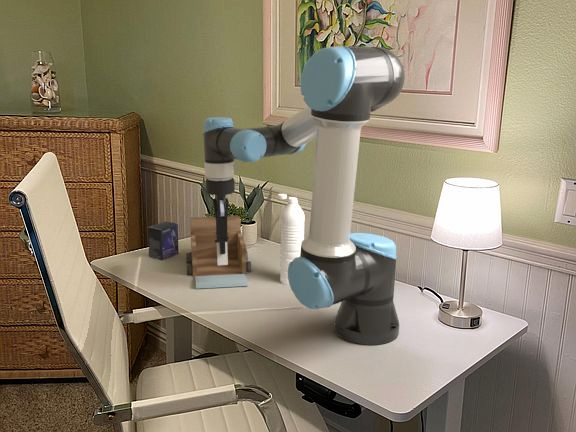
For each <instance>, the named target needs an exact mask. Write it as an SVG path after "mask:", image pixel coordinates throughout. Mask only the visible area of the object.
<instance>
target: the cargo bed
mask: <svg viewBox="0 0 576 432" xmlns="http://www.w3.org/2000/svg"><path fill="white" fill-rule="evenodd" d="M241 220H242V219H241V216H240V215H232V216H229V215H228V217H227V236H229V239H228V241H227V252H228V265H218V264H217V243H215V240H217V238H216V237H217V235H216V217H215V216H202V217H201V216H200V217H190V218H189V222H190V247H191V248H190V250H191V252H186V253H185V255H186V257H185V259H186V275H187V276H192V277H193V278H194V276H212V275H231V274H246V275H247V273H252V262H251V261H249V258H248V257H249V256H248V250H247V246H246V243H245V240H244V237H243V234H242V228H241V227H242V225H241V224H242V223H241Z"/></svg>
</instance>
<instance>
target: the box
mask: <svg viewBox="0 0 576 432" xmlns="http://www.w3.org/2000/svg"><path fill="white" fill-rule="evenodd" d="M147 237H148V257H149V258H152V259H155V260H160V261H164V260H166V259H168V258H171V257H174V256H176V255H178V254H179V249H180V248H179V247H180V245H179V224H178V223H175V222H171V221H163V222H160V223H156V224H153V225H151V226H147Z"/></svg>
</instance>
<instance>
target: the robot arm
mask: <svg viewBox="0 0 576 432" xmlns="http://www.w3.org/2000/svg"><path fill="white" fill-rule="evenodd" d="M405 74H406V73H405V69H404V65H403V63H402V61H401V60H400V58H399V57H398V55H397V54H395V53H394V52H393V51H391V50H389V49H387V48H385V47H381V46H344V45H340V46H339V45H335V46H330V47H329V46H328V47H322V48H320V49H318V50H317V51H315V52H314V53H313V54H312V55H311V56H310V57H308V59H307V61H306V63H305V65H304V66H303V69H302V72H301V77H300V92H301V95H302V96H304V97H303V101H304V103H305V104H306V105H307V106H305V107H304V108H302V109H301V110H299V111H298V112H297V113H295V114H293V115H292V116H290V117H289V118H287V119H286V120H284V121H282V122H281V123H279V124H277V125H270V126H269V125H268V126H259V127H258V126H257V127H248V128H238V127H237V128H236V127H235V126H234V122H233V119H232V118H231V117H226V116H225V117H224V116H223V117H222V116H221V117H220V116H215V117H208V118H206V119H204V121H203V132H202V135H203V155H204V177H205V178H206V179H205V180H204V181H205V192H206V194H208V195H210V196H215V198H212V206H213V214H214V217H216V235H217V237H216V238H217V240H215V243H217V264H218V265H228V252H227V241H228V239H229V236H227V217H228V216H229V207H230V205H229V200H228V199H229V198H228V197H226V196H227V195H231V194H233V193H235V189H236V188H235V185H236V184H235V178H234V176H235V170H234V169H236V168H237V164H235V163H234V161H235V160H237V161H239V162H244V163H247V162H248V163H249V162H250V163H255V162H258V161H259V160H260V159H263V158H268V157H275V156H276V157H277V156H284V155H285V156H286V155H293V154H297V153H300V152H302V151H303V150H304V149H305V147H306V146H307V144H308V143H310V142H311V141H313V140H315V139H316V143H315V144H316V145H315V153H314V155H315V156H314V168H313V182H312V195H311V207H310V219H309V230H308V231H309V232H308V236H306V237H304V240H303V241H302V242H301V253H300V257H296V258H295V259H294V260H293V261H292V262H290V264H289V267H288V281H289V284H290V285H289V287H290V290H291V292H292V293H293V295H294V297H295V298H296V299H297V301H298V302H299V303H301V305H303V306H304V307H306V308H307V309H311V310H320V309H323V308H331V307H332V306H333V305H336V304H339V303H340V305H339V308H338V310H337V313H336V316H335V318H334V332H335V333H336V334H337V335H338V336H339V337H340V338H341V339H344V340H346V341H347V342H351V343H356V344H360V345H370V346H371V345H372V346H373V345H382V344H387V343H390V342H392V341H394V340H395V339H397V337H398V336H399V335H400V321H399V317H398V314H397V309H396V306H395V303H394V296H395V282H396V281H395V280H396V269H397V268H396V267H397V259H398V258H397V246H396V243H395V242H394V240H392V239H390V238H388V237H386V236H382V235H378V234H373V233H367V232H353V233H352V232H351V231H352V230H351V228H352V220H353V219H352V218H353V210H354V209H353V208H354V201H355V191H356V189H355V188H356V180H357V171H358V160H359V150H360V142H361V131H362V127H364V125H366V124H367V123H368V122H369V121H370V119H371V113H373V112H376V111H377V110H378V109H381V108H382V107H385V106H386V105H388V104H390V103H392V102H393V101H394V100H395V99H397V97H398V96H399V95H400V94H401V92H402V91H403V87H404V84H405V79H406V78H405V76H406V75H405Z"/></svg>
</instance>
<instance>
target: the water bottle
mask: <svg viewBox="0 0 576 432" xmlns="http://www.w3.org/2000/svg"><path fill="white" fill-rule="evenodd" d="M287 198H288V200H287V202H288V203H287V204H286V206H285V207H284V208H283V210H282V212H281V213H280V264H279V265H280V271H279V273H280V275H279V282H280V283H281V284H282V285H285V286H287V285H288V286H290V284H289V281H288V267H289V264H290V262H292V261H293V260H294V259H295V258H296V257H300V253H301V242H302V241H303V240H304V239H305V217H306V216H305V213H304V211H303V209H302V207H301V206H300V205H299V203H298V202H299V200H298V198H297V197H296V196H290V197H288V196H287V193H278V194H277V199H279V200H286V199H287Z"/></svg>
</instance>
